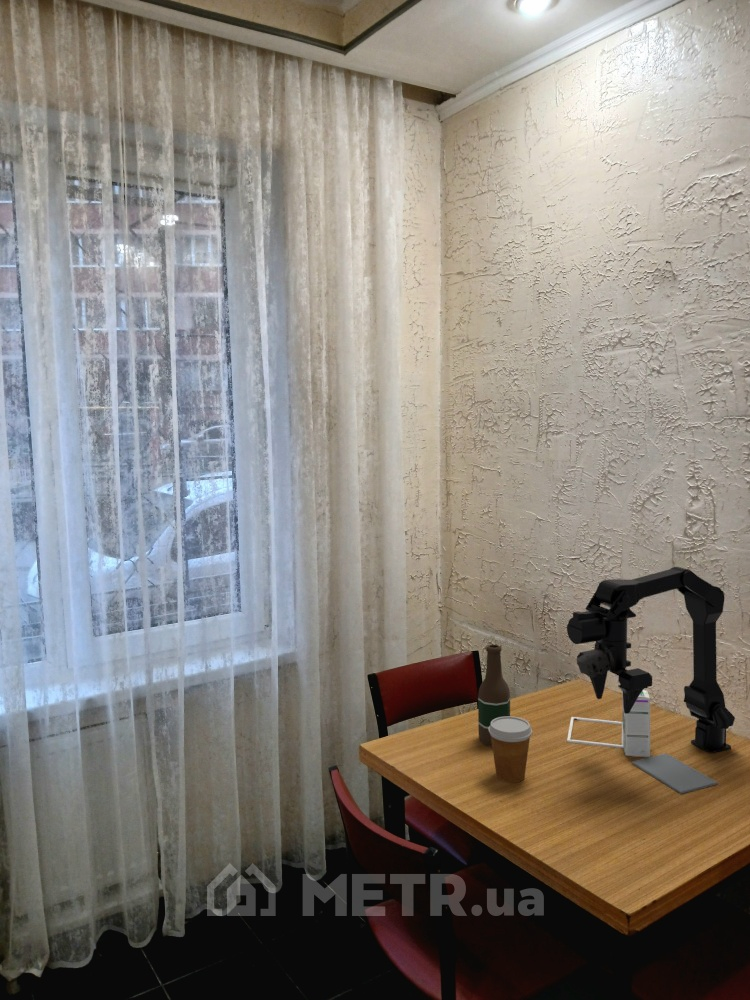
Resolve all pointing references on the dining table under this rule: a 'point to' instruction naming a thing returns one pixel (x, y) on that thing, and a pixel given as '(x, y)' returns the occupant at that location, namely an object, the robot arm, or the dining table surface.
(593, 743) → the photo frame
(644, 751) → the syrup box
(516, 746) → the disposable coffee cup
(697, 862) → the dining table surface
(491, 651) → the beer bottle
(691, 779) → the mat
